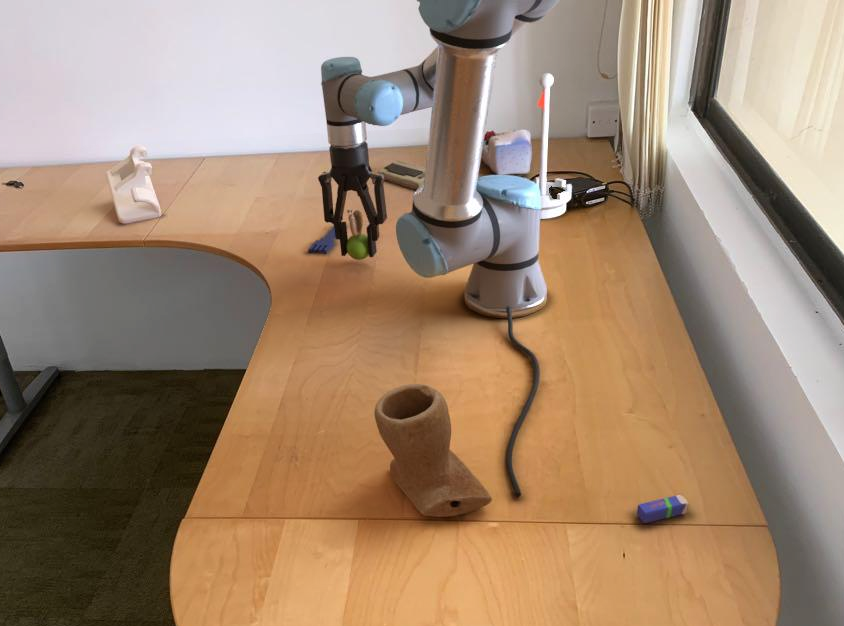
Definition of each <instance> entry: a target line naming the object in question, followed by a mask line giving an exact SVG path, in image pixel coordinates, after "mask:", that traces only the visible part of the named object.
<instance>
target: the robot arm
mask: <svg viewBox="0 0 844 626" xmlns="http://www.w3.org/2000/svg"><path fill="white" fill-rule="evenodd" d="M416 1H417V2H418V3H419V5H418V8H417V10H418V12H419V16H420V17H421V19H422V21H423V22H424V24H425V25H426V26H427V27H428V28H429V35H430V37H431V38H432V40H434V42H435V43H436V44H437V46H436V47H435V48H434V49H433V50H432V51H431V53H429V55H428V56H427V57H426V58H425V59H424V60H423V61H422V62H421V63H420V64H418V65H415V66H411V67H407V68H403V69H400V70H395V71H391V72H387V73H383V74H379V75H378V74H377V75H374V76H368V75H365V74H363V70H362V66H361V61H360V60H359V58H357V57H354V56H339V57H338V56H337V57H334V58H329V59H326V60H325V61H323V62H322V64H321V65H320V75H321V82H320V86H321V89H322V90H321V91H322V98H323V106H324V114H325V121H326V130H327V141H328V142H327V143H328V144H329V145H330V146H329V148H328V150H329V158H330V159H329V160H330V166H331V168H330V170H329V171H323V172H322V173H320V174H319V176H318V177H317V180H318V182H319V185H320V187H321V196H322V197H321V198H322V208H323V218H324V219H323V220H324V222H325V223H327V224H328V223H330V224H332V225H333V226H334V229H335V239H336V240H339V246H340V255H341V256H342V257H346V255H347V254H348V252H347V249H346V244H347V241H348V239H349V238H348V227H347V221H343V220H344V213H345V212H344V211H345V206H346V202H347V201H346V200H347V195H348V192H349V191H353V192H356V194H357V196H358V197H359V200H360V202H361V206H362V207H363V211H364V213H365V216H366V218H367V221H368V225H367V226H366V236H367V238H368V248H369V256H368V258H374V256H375V255H376V254H377V252H378V251H377V241H379V239H380V226H379V225H383V224H385V222H386V220H387V219H388V212H387V204H386V203H387V202H386V196H385V186H384V183H385V180H384V179H385V174H384V173H380V174H379V173H378V172H375V171H373V170H372V168H371V166H370V156H369V146H368V145H369V144H368V143H367V142H366V141H367V140H368V136H367V135H368V134H367V124H368V125H372V126H379V127H387V126H389V125H392V124H393V123H394V122H395V121H396V120H397V119H398V118H399V117H400V116H403V115H406V114H409V113H413V112H417V111H421V110H422V111H423V110H426V109H429V108H430V109H431V113H430V121H429V131H428V140H427V141H428V142H427V149H426V150H427V151H426V160H425V168H426V169H425V178H424V185H423V186H421V187H419V188H418V189H415V191H414V193H413V198H412V207H411V211H410V212H404V213H403V214H402V215H401V216H400V217H398V219H397V221H396V224H395V235H396V241H397V244H398V247H399V250H400V252H401V254H402V256H403V258H404V260H405V262H406V263H407V265H408V266H409V268H410V269H411V270H412V272H414V273H416V274H417V275H418V276H419V277H421V278H424V279H432V278H437V277H440V276H445V275H448V274H449V273H452V272H454V271H457V270H459V269H463V268H465V267H468V266H470V265H471V266H472V268H471V270H470V274H469V276H468V279H467V282H466V284H465V288H464V303H465V305H466V306H467V307H468V309H470V310H471V311H473V312H475V314H476V313H477V314H479V315H482V316H485V317H490V318H495V319H496V318H497V319H498V318H499V319H507V334H508V338H509V340H510V341H511V343H512V344H513V345H514V347H516V348H517V349H519V350H520V351H522V352H523V353H524V354H526V355H527V356H528V357H529V358H530V360H531V362H532V365H533V368H534V369H533V370H534V374H533V375H534V376H533V383H532V387H531V391H530V393H529V395H528V397H527V400H526V402H525V404H524V406H523V408H522V410H521V413H520V414H519V416H518V418H517V420H516V421H515V424H514V426H513V429H512V431H511V434H510V437H509V440H508V443H507V447H506V453H505V466H506V472H507V476H508V479H509V480H510V485H511V486H512V490H513V493H514V496H515V497H516V498H519V497H521V496H522V493H521V489H520V486H519V484H518V480H517V479H516V476H515V473H514V468H513V452H514V446H515V444H516V439H517V436H518V434H519V430H520V428H521V426H522V424H523V422H524V421H525V418H526V416H527V415H528V412H529V410H530V408H531V405H532V403H533V401H534V400H535V396H536V395H537V391H538V388H539V383H540V374H541V373H540V371H541V369H540V364H539V361H538V359H537V357H536V355H535V354H534V353H533V352H532V351H531V350H530V349H528V348H527V347H526V346H524V345H523V344H522V343H520V342H519V341H518V340H517V338H516V337H515V336H514V332H513V330H514V326H513V325H514V322H513V318H520V317H523V316H524V317H525V316H528V315H531V314H534V313H536V312H538V311H540V310H541V309H542V308H544V307H545V305H546V303H547V301H548V287H547V284H546V280H545V278H544V275H543V272H542V267H541V265H540V261H539V257H540V256H539V253H540V231H541V230H540V229H541V219H540V214H541V209H542V206H541V204H540V189H539V187H538V185H537V184H536V183H534V182H535V181H532V180H531V179H528V178H526V177H522V176H516V175H512V174H508V175H497V174H489V175H488V174H487V175H483V176H480V177H479V173H480V167H481V161H482V156H481V155H482V148H483V142H484V136H485V134H486V129H487V123H488V116H489V109H490V104H491V103H490V102H491V99H492V97H491V96H492V91H493V86H494V85H493V84H494V78H495V72H496V65H497V58H498V52H499V51H500V50H501V49H503V47H505V46H506V45H508V43H510V41H511V39H512V37H513V36H514V35H515V34H516V33H517V32H518V31H520V29H522V28H523V26H525V25H526V24H534V23H536V22H538V21H540V20H542V19H543V17H544V16H546V15H547V14H548V13H549V12H551V10H553V8H554V7H556V6H557V4H559V2H560V1H561V0H416ZM370 179H371V182H372V185H373V191H374V192H373V193H374V199H375V201H374V202H375V204H374V202H373V199H372V196H371V193H370V191H369V190H370V189H369V184H368V181H369V180H370ZM332 180H333V181H334V182H335V183H336V184H337V191H336V201H335V207H334V201H333V200H334V199H333V188H332V187H333V186H332Z"/></svg>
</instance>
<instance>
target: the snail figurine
mask: <svg viewBox="0 0 844 626" xmlns="http://www.w3.org/2000/svg"><path fill="white" fill-rule="evenodd" d="M346 212H347V214H348V222H349V229H350V232H351V236H350V237H349V238H348V241H347V244H346V249H347V252H348V253H347V254H348V256H349V257H351V258H352V259H354V260H358V261H362V260H365V259H366V258H369V248H368V238H367V234H364V233H362V232H363V225H364V216H363V214H362V212H361V210H359V209H357V210H355V211H354V210H353V209H351V210H350V209H348V210H346Z"/></svg>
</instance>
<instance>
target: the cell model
mask: <svg viewBox="0 0 844 626" xmlns="http://www.w3.org/2000/svg"><path fill="white" fill-rule="evenodd" d="M531 140H532V134H531V132H530V131H529V130H527V129H517V130H512V131H509V132H508V131H505V132H500V133H496V132H495V131H494V129H492V130H491V131H489V130H488V131H485V136H484V142H483V148H482V155H481V159H482V161H483V163H484V164H485V165H486V166H487V167H489V169H490V170H491V171H492V172H493V173H494V174H495V175H526V174H529V173H530V170H531V163H532V159H533V149H532V143H531Z"/></svg>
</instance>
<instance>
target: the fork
mask: <svg viewBox="0 0 844 626" xmlns="http://www.w3.org/2000/svg"><path fill="white" fill-rule="evenodd" d="M334 239H336V237H335V229H334V225H333V226H332V227H331V228H330V230H329V231H328V232H327V233H326V234H325V235H324V237H320V239H315V241H314V242H313V243H312V244H311V245H310V247H309V248H308V249H307V250H308V254H312V253H313V254H317V253H318V254H321V255H322V254H324V255H326V254H328V253H329V251H330V250H332V249H333V247H334V246H335V241H334Z"/></svg>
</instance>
